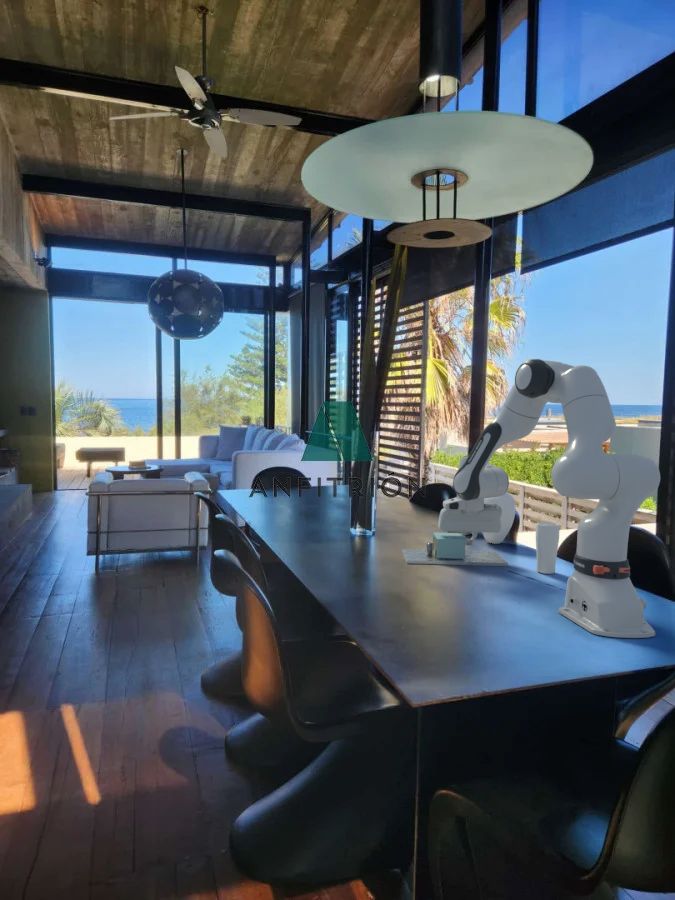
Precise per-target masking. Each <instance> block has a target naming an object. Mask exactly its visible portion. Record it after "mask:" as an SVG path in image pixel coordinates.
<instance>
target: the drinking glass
mask: <svg viewBox="0 0 675 900" xmlns="http://www.w3.org/2000/svg"><path fill="white" fill-rule="evenodd" d="M559 542H560V524H559V523H556V522H550V521H537V522H536V525H535V551H536V572H538V573H539V572H540V573H539V574H545V575H552V574H555V573H556V562H557V557H558V548H559Z"/></svg>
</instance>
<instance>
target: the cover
mask: <svg viewBox="0 0 675 900" xmlns="http://www.w3.org/2000/svg"><path fill="white" fill-rule="evenodd" d="M434 539H436V540H437V558H454V559H465V551H466V545H465V542H466V539H467V538H466V539H465V538H464V537H463V536H462V535H461V534H460V533H449V532H432V543H433V551H434Z"/></svg>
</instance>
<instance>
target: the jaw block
mask: <svg viewBox="0 0 675 900" xmlns="http://www.w3.org/2000/svg"><path fill="white" fill-rule="evenodd" d="M434 555H435V557H437V540H436V539H434Z"/></svg>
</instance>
